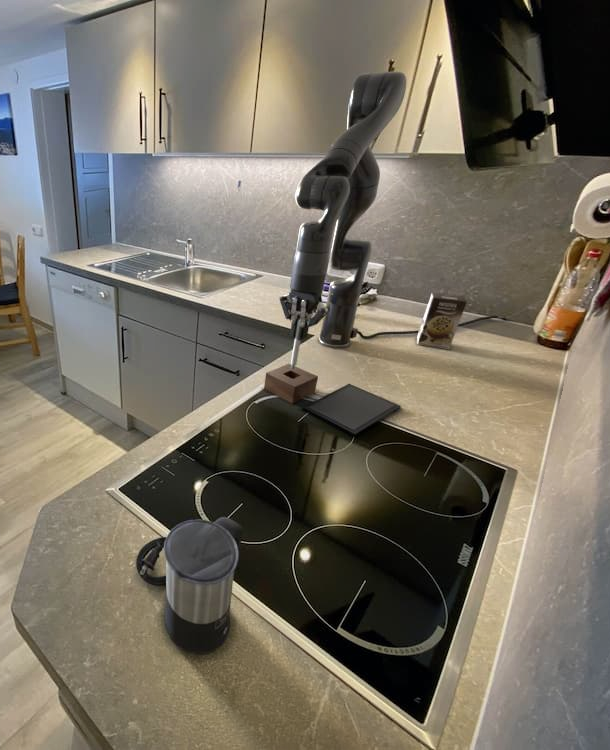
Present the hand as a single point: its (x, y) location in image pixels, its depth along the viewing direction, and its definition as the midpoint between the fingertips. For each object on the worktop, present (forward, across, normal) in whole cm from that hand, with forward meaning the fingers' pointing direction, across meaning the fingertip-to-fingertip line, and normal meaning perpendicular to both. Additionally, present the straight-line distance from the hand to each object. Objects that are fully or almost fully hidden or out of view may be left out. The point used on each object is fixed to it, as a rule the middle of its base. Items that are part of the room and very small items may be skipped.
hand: (297, 338), depth 105 cm
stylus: (+9, 0, 0) cm, 9 cm away
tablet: (+15, -15, -5) cm, 22 cm away
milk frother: (+15, -29, +61) cm, 69 cm away
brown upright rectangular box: (+16, -8, -63) cm, 65 cm away
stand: (+15, 0, 0) cm, 15 cm away
